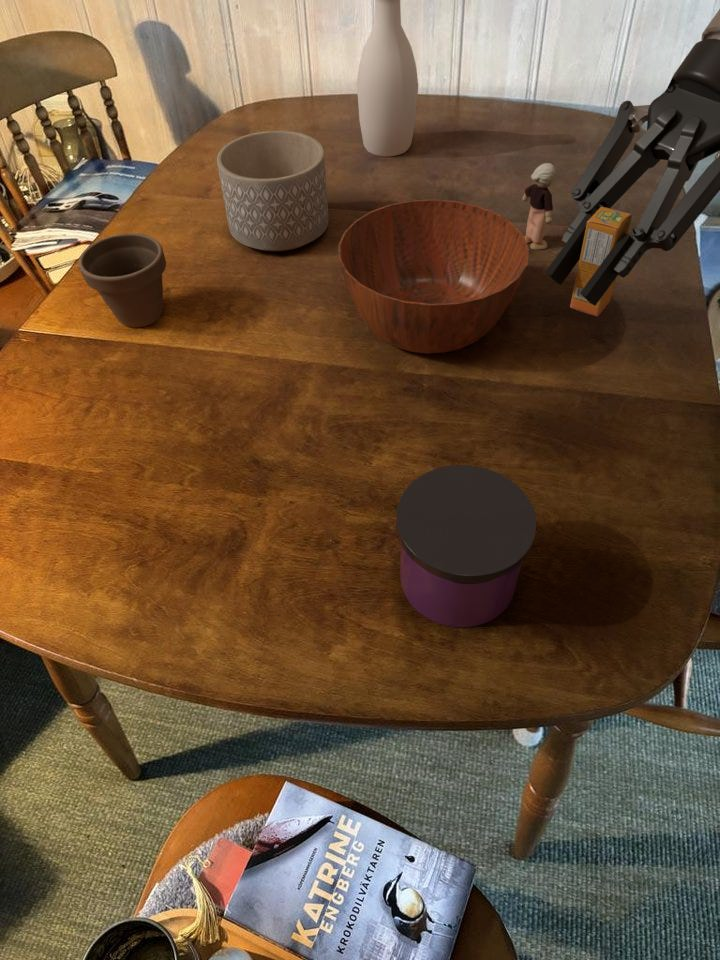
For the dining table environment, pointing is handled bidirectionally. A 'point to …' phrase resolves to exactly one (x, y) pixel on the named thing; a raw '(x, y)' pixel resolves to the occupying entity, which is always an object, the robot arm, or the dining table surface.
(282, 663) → the dining table surface
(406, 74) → the bottle
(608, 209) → the supplement box
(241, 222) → the planter
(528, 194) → the grandmother figurine
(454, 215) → the bowl
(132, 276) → the flower pot
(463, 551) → the jar
